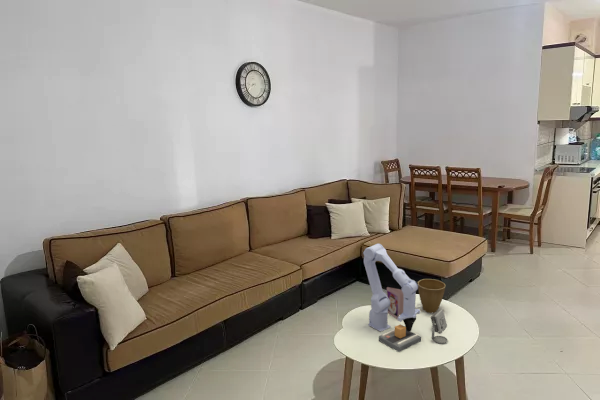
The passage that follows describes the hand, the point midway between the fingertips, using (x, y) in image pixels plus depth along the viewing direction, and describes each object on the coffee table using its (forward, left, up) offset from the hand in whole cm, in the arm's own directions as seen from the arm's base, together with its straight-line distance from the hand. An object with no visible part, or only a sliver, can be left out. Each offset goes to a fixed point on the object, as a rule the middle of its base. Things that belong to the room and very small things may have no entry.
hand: (408, 330), depth 215 cm
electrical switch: (+4, +19, -4) cm, 20 cm away
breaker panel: (0, -6, -4) cm, 7 cm away
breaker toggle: (0, -6, -1) cm, 6 cm away
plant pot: (-12, +33, -4) cm, 35 cm away
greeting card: (-20, +14, -4) cm, 25 cm away
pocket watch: (+11, +9, -4) cm, 15 cm away
